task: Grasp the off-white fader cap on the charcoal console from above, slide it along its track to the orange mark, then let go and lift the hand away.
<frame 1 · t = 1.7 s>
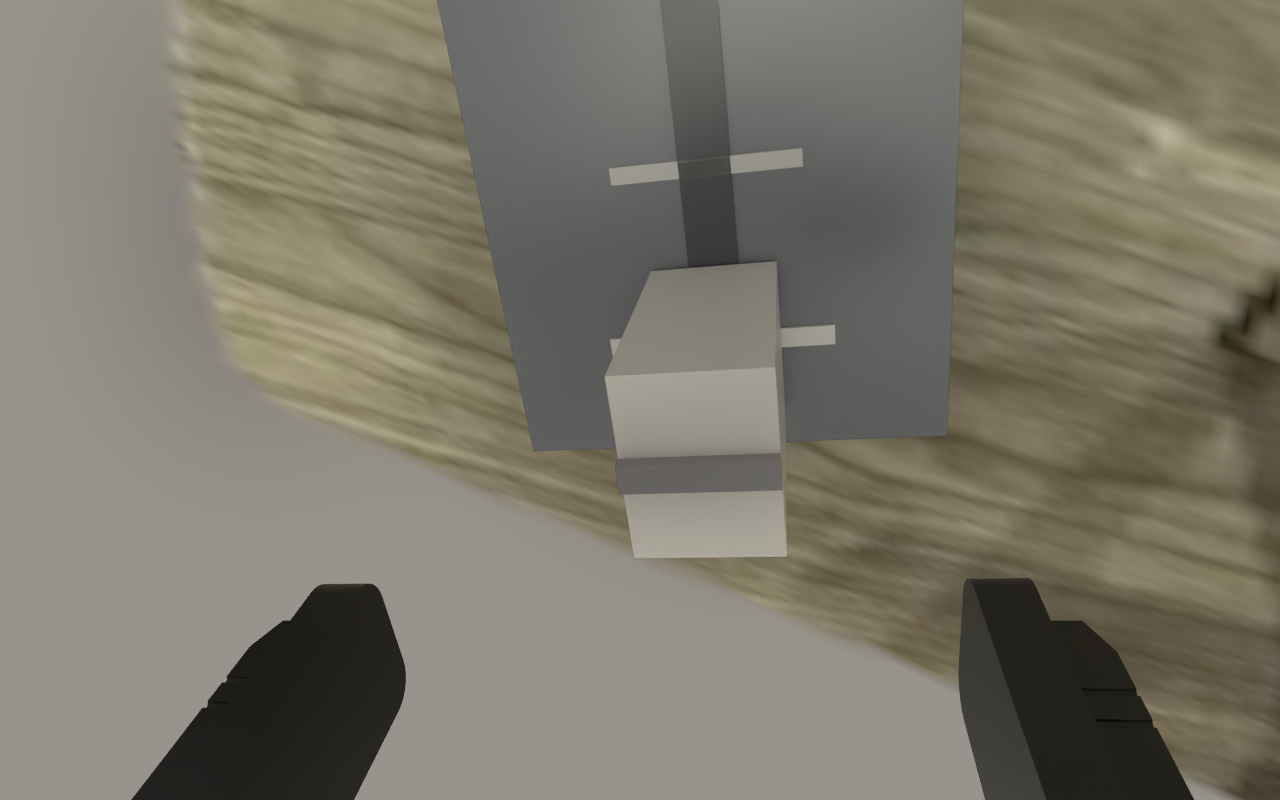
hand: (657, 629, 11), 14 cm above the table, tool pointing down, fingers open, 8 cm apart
console: (705, 52, 20), on the table
fader: (710, 400, 18), point 6 cm above the table, slide at 0.0 cm
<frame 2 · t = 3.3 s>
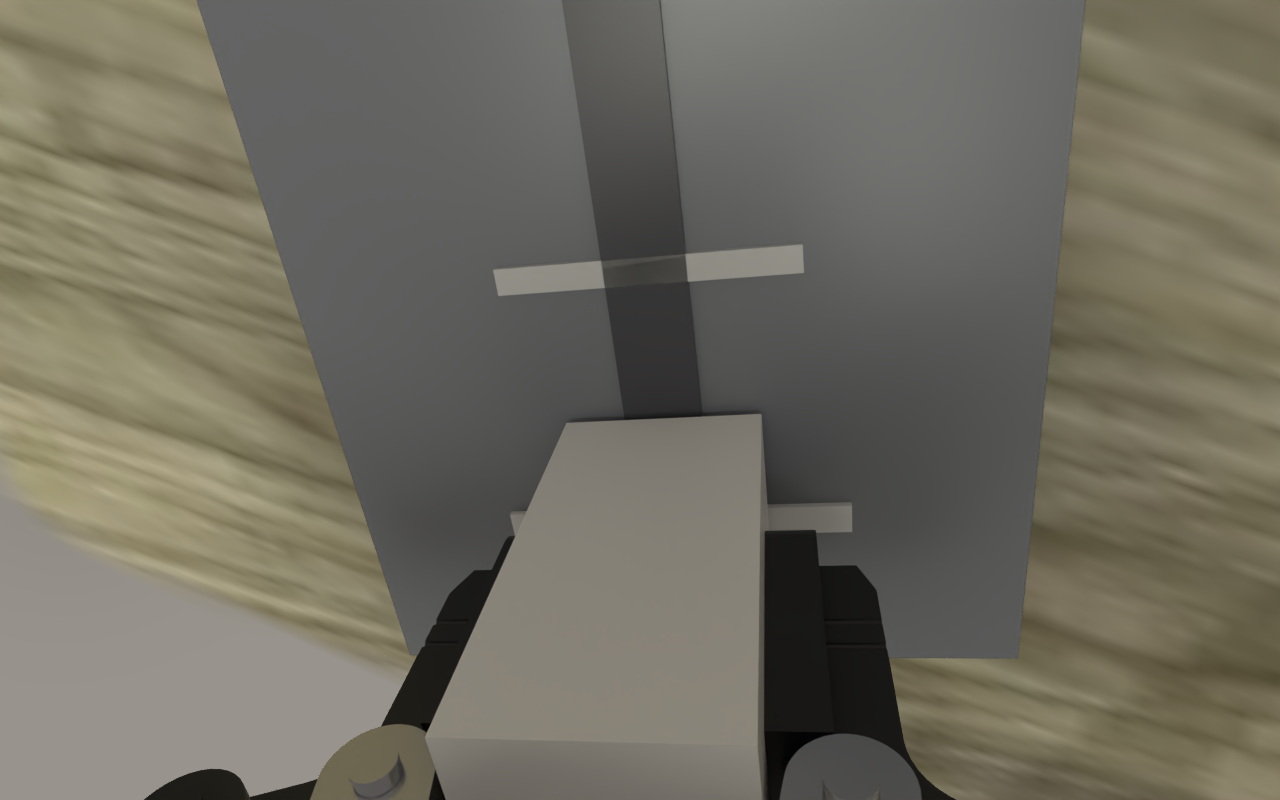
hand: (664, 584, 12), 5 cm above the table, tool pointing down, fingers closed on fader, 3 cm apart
console: (652, 81, 13), on the table
fader: (651, 670, 11), point 6 cm above the table, slide at 0.0 cm, touching gripper
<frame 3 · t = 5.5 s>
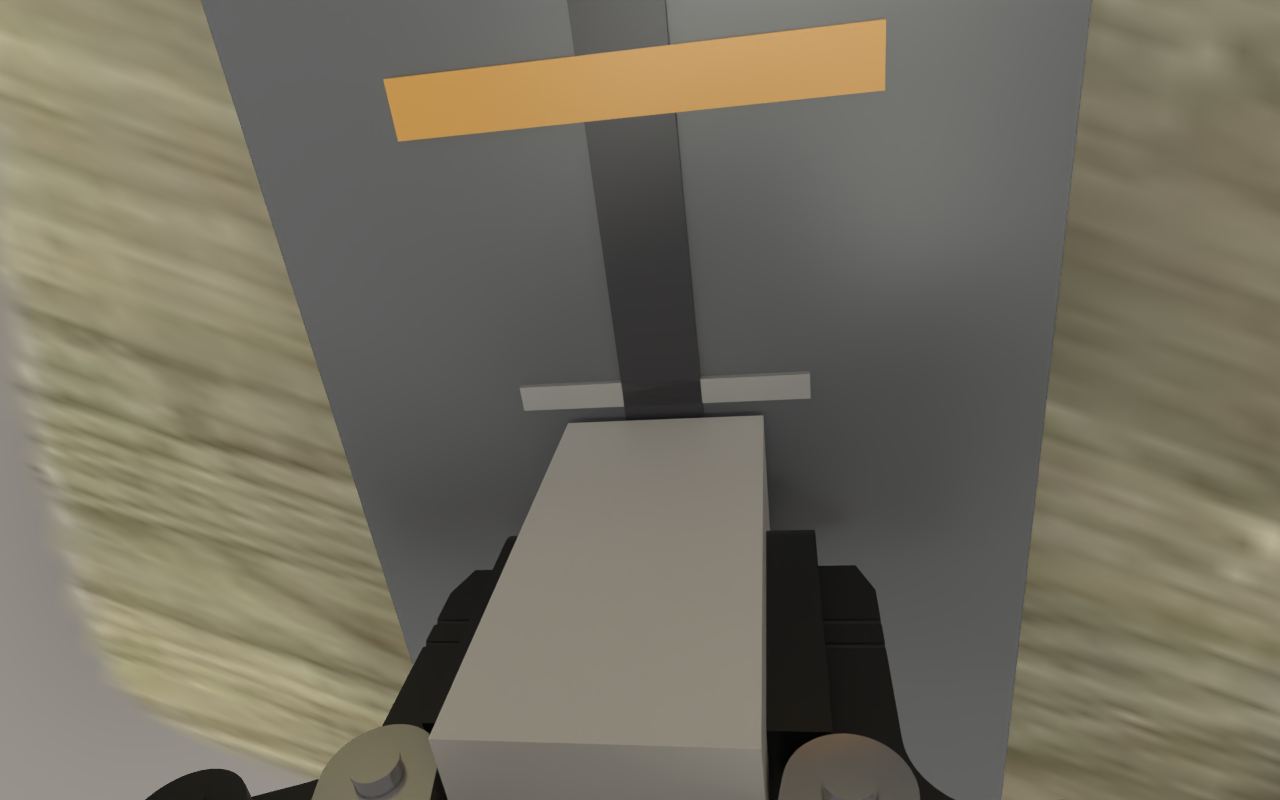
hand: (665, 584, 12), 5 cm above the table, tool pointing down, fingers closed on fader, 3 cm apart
console: (690, 418, 16), on the table
fader: (653, 671, 11), point 6 cm above the table, slide at 6.2 cm, touching gripper
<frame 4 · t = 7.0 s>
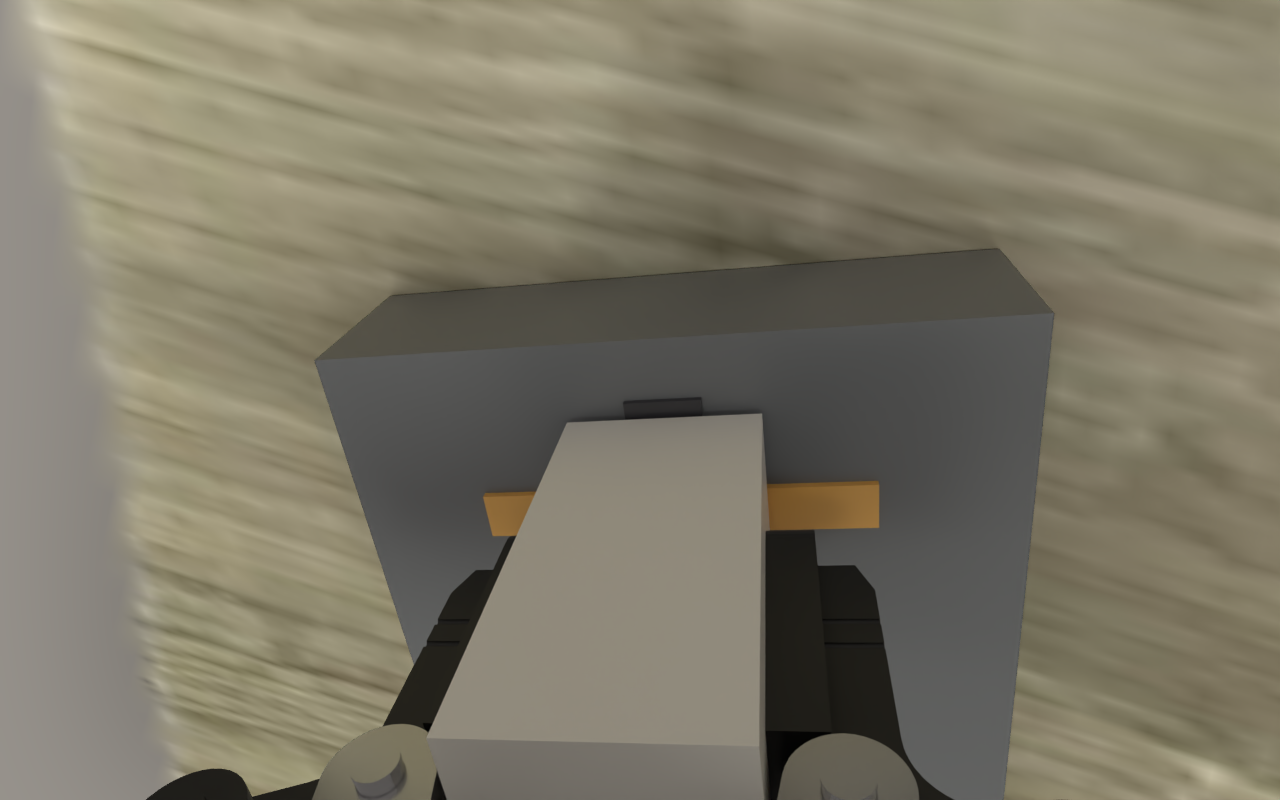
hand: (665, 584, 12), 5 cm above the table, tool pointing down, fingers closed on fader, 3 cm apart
console: (718, 668, 19), on the table
fader: (652, 670, 11), point 6 cm above the table, slide at 12.8 cm, touching gripper
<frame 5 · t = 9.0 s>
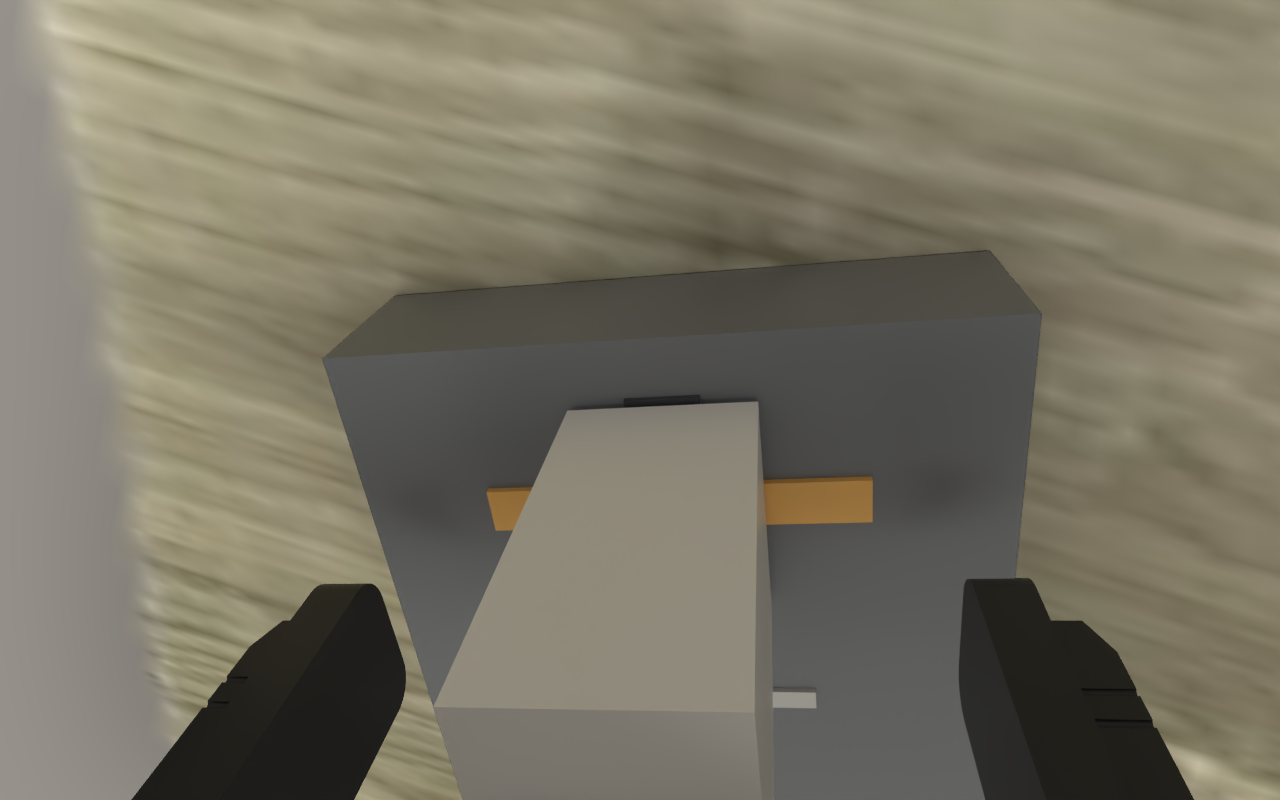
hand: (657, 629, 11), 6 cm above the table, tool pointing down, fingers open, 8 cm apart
console: (715, 661, 19), on the table
fader: (651, 649, 11), point 6 cm above the table, slide at 12.9 cm
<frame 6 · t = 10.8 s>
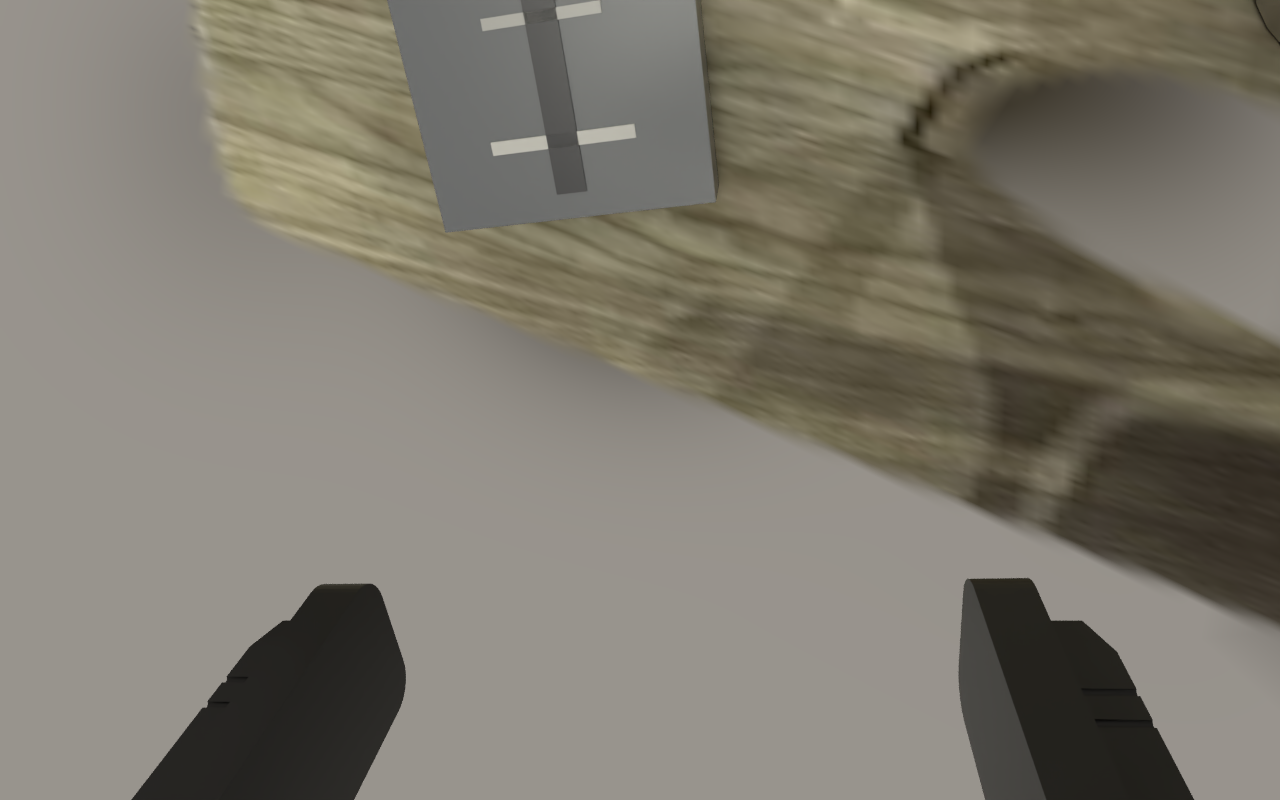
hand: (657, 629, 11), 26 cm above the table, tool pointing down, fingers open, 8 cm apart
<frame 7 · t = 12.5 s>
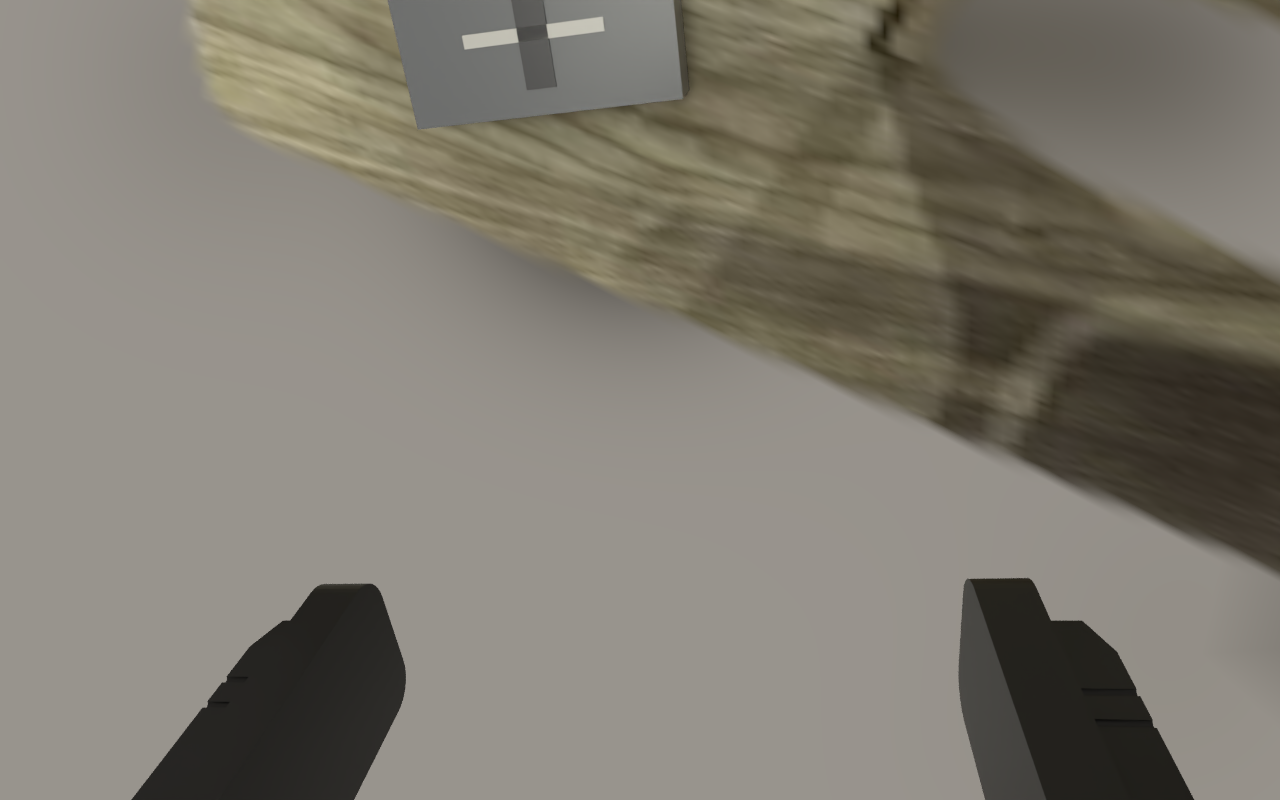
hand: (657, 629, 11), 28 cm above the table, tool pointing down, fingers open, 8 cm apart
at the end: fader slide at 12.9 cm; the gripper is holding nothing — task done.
